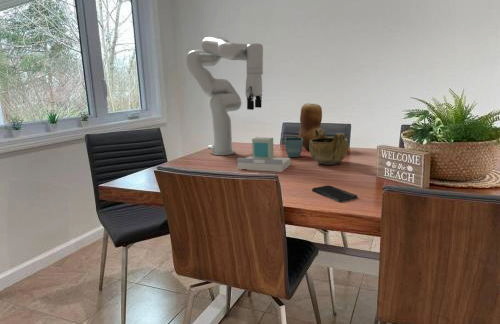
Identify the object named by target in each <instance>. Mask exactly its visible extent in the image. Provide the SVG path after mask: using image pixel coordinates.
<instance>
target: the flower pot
mask: <svg viewBox="0 0 500 324" xmlns="http://www.w3.org/2000/svg"><path fill="white" fill-rule="evenodd" d="M302 144H303V139H302V138H299V137H284V146H285V152H286V155H287V158H299V157H300V156H301V154H302V150H303V145H302Z"/></svg>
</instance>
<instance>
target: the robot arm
mask: <svg viewBox="0 0 500 324" xmlns="http://www.w3.org/2000/svg"><path fill="white" fill-rule="evenodd" d="M222 59H226V60H230V61H246V80H245V96H246V109H247V110H249V111H250V110H252V111H253V110H254V109H255V108H259V109H260V108H261V109H262V102H263V101H262V98H263V77H262V75H264V74H263V73H264V72H263V71H264V68H263V67H264V65H263V64H264V60H263V59H264V46H263V44H261V43H249V44H248V43H238V42H237V43H235V42H230V41H229V40H228V39H226V38H224V37H221V36H220V37H219V36H207V37H204V38H203V39H202V40H201V49H194V50H190V51H189V52H188V53H187V54H186V57H185V61H186V67H187V69H188V71H189V72H190V75H192V77H193V78H194V79H195V80H196V82H197V83H198V84H199V86H200V88H201V90H202V91H203V92H204V94H205V95H206V97H209V98H210V99H209V107H210V110H211V116H212V128H213V129H212V131H213V144H212V145H211V144H210V145H208V146H207V148H208V150H212V151H211V154H212V155H214V156H229V155H233V154H236V150H234V149H233V142H232V141H233V138H232V122H231V121H232V120H231V116H230V115H229V112H235V111H238V110H240V109H241V107H242V99H241V97H240V95H239V94H238V92H237V91H236V89H235V87H234V86H233V84H232V83H231V82H230V81H229V80H228V79H224V78H215V77H214V76H213V74H212V73H211V72H210V71H209V70H208V69H207V68H205V67H214V66H216V65H218V63H219V62H220V61H221V60H222Z"/></svg>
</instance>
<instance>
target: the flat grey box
mask: <svg viewBox="0 0 500 324" xmlns="http://www.w3.org/2000/svg"><path fill="white" fill-rule="evenodd" d="M289 166H291V157H274V159H254V158H253V155H252V156H250V155H249V156H247V157H237V170H242V169H247V171H259V172H260V171H261V172H262V171H263V172H275V173H276V172H277V173H278V172H279V173H282V172H283V171H285V170H286V169H287V168H289Z"/></svg>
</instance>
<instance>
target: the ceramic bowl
mask: <svg viewBox="0 0 500 324" xmlns="http://www.w3.org/2000/svg"><path fill="white" fill-rule="evenodd" d="M315 134H316V138H314V139H311V140H310V143H309V149H310V150H309V154H310V156H311V158H312V159H313V160H314V161H315V162H317V163H320V164H322V165H325V166H331V165H337V164H338V163H341V162H342V161H343V160H344V159H345V158H346V156H347V154H348V149H349V146H348V145H349V143H348V142H349V141H348V139H347V138H346V135H345V133H344V132H339V133H335V134H334V136H326V132H325V130H324V128H321V129H316V130H315Z"/></svg>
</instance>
